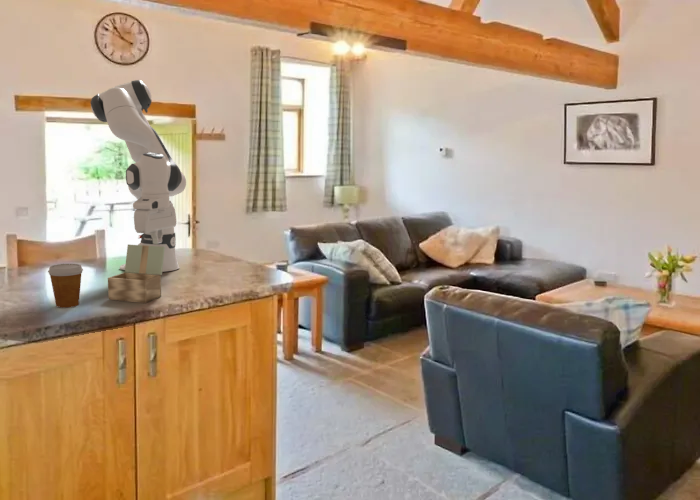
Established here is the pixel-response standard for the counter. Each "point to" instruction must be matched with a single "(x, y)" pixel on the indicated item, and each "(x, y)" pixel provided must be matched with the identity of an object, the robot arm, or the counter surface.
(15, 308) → the counter surface
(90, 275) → the counter surface
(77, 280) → the disposable coffee cup
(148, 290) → the box
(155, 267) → the lid
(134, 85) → the robot arm
